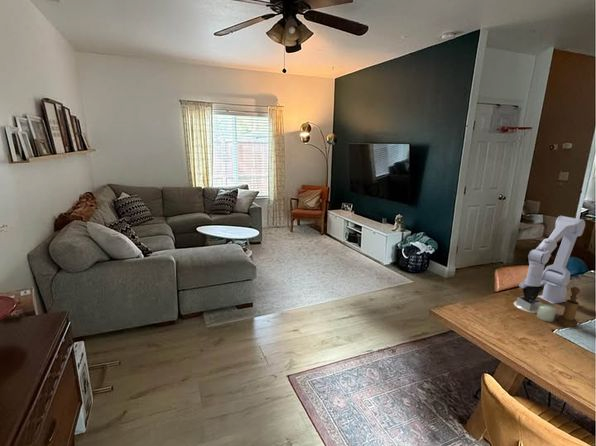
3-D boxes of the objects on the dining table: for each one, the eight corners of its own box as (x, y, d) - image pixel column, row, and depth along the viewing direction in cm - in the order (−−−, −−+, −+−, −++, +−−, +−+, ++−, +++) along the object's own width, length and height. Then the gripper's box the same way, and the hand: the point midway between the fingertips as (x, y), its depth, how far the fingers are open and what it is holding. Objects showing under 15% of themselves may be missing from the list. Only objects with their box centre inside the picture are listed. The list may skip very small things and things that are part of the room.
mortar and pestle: (580, 328, 136) (589, 291, 131) (563, 327, 137) (572, 290, 133) (570, 320, 142) (579, 285, 138) (554, 319, 143) (562, 283, 139)
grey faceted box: (522, 300, 160) (523, 293, 159) (540, 309, 151) (541, 302, 150) (511, 301, 158) (513, 295, 157) (529, 311, 150) (530, 304, 149)
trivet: (525, 299, 161) (525, 299, 161) (549, 311, 150) (549, 311, 150) (507, 302, 158) (507, 302, 158) (530, 315, 147) (530, 314, 147)
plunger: (527, 302, 157) (529, 291, 155) (537, 307, 152) (539, 296, 150) (519, 303, 155) (521, 293, 154) (529, 308, 151) (531, 297, 149)
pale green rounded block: (543, 314, 148) (546, 302, 146) (557, 321, 142) (560, 309, 140) (533, 315, 146) (535, 304, 145) (546, 323, 140) (549, 311, 139)
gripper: (538, 269, 155) (533, 293, 158) (515, 272, 151) (510, 297, 155) (552, 274, 148) (546, 300, 152) (529, 278, 145) (524, 304, 148)
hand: (529, 299), depth 153 cm, fingers open, 3 cm apart
